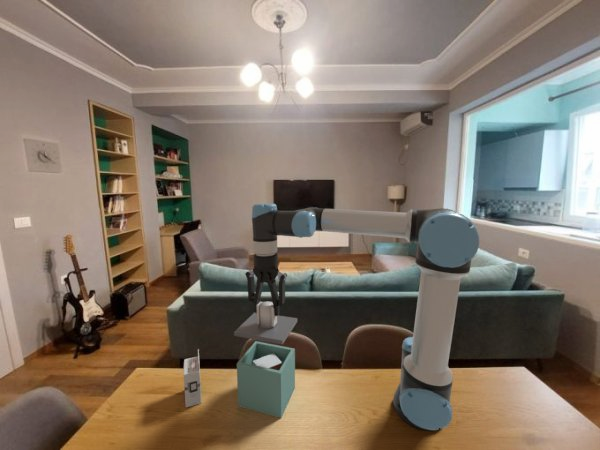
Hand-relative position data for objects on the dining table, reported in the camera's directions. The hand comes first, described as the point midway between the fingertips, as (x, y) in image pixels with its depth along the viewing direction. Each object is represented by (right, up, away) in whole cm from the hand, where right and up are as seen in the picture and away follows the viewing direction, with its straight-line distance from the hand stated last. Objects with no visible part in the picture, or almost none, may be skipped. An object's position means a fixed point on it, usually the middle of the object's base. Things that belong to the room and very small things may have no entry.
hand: (267, 323), depth 87 cm
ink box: (-25, -26, +4) cm, 37 cm away
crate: (0, -26, +4) cm, 26 cm away
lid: (0, -3, 0) cm, 3 cm away
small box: (0, -26, +4) cm, 27 cm away
